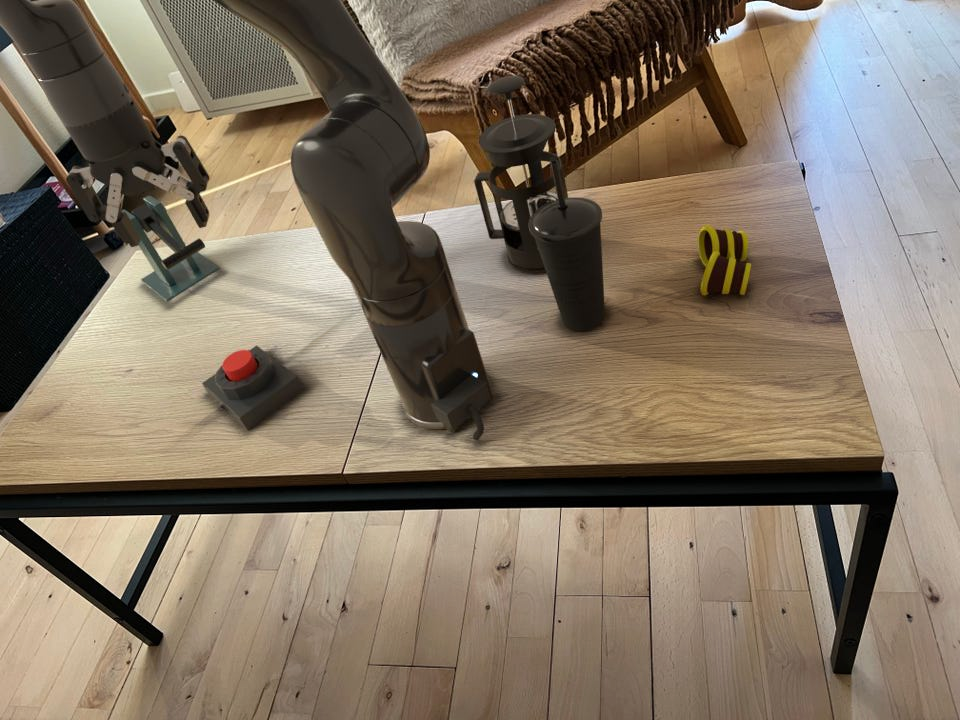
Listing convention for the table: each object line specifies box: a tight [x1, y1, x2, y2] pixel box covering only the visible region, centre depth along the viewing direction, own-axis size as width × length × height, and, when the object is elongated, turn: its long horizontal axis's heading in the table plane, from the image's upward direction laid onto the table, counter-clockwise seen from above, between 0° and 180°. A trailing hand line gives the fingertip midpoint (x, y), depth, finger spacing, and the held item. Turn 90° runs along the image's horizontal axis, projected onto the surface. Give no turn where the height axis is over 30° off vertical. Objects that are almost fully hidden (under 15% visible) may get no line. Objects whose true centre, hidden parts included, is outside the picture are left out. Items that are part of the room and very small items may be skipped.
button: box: [221, 349, 258, 382], centre depth 90 cm, size 4×4×2 cm
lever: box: [130, 203, 206, 270], centre depth 109 cm, size 12×6×2 cm, turn 43°
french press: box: [473, 75, 569, 275], centre depth 93 cm, size 12×9×23 cm
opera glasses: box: [697, 224, 752, 296], centre depth 87 cm, size 10×5×5 cm, turn 170°
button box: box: [201, 345, 305, 432], centre depth 92 cm, size 10×8×4 cm
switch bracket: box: [121, 195, 220, 302], centre depth 114 cm, size 10×9×13 cm
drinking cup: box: [528, 161, 606, 333], centre depth 83 cm, size 8×8×20 cm
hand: (170, 233), depth 93 cm, fingers open, 8 cm apart
